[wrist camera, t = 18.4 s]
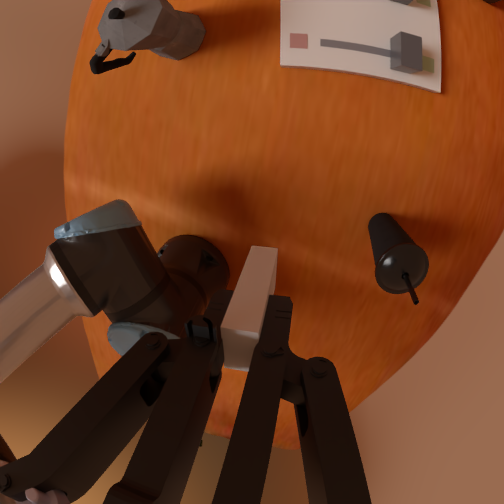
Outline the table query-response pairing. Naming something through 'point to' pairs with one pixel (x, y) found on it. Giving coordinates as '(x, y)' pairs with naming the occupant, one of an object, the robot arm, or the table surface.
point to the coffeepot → (145, 32)
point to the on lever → (406, 53)
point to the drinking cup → (396, 257)
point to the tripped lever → (403, 1)
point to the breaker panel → (360, 37)
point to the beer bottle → (491, 1)
